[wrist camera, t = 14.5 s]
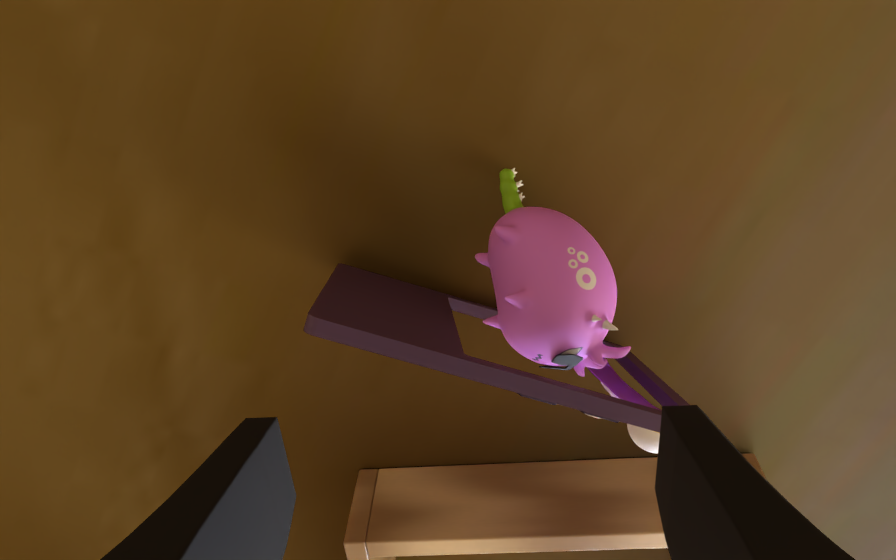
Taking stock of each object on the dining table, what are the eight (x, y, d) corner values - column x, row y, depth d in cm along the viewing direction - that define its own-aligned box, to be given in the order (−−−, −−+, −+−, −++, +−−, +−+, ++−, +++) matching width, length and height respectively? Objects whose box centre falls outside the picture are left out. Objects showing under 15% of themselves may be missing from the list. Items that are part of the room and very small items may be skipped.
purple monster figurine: (292, 366, 14) (702, 479, 15) (363, 112, 13) (792, 248, 14) (328, 298, 21) (611, 379, 22) (378, 126, 20) (669, 218, 21)
